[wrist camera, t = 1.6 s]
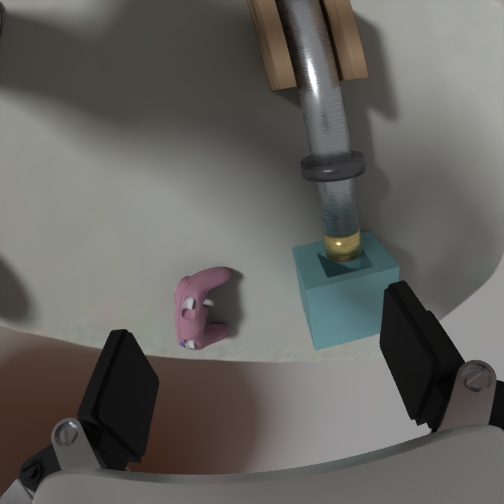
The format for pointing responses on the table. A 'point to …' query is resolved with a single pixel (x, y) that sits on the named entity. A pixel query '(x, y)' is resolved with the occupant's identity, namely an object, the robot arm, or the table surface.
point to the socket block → (344, 291)
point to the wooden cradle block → (276, 48)
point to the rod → (324, 127)
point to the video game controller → (198, 309)
